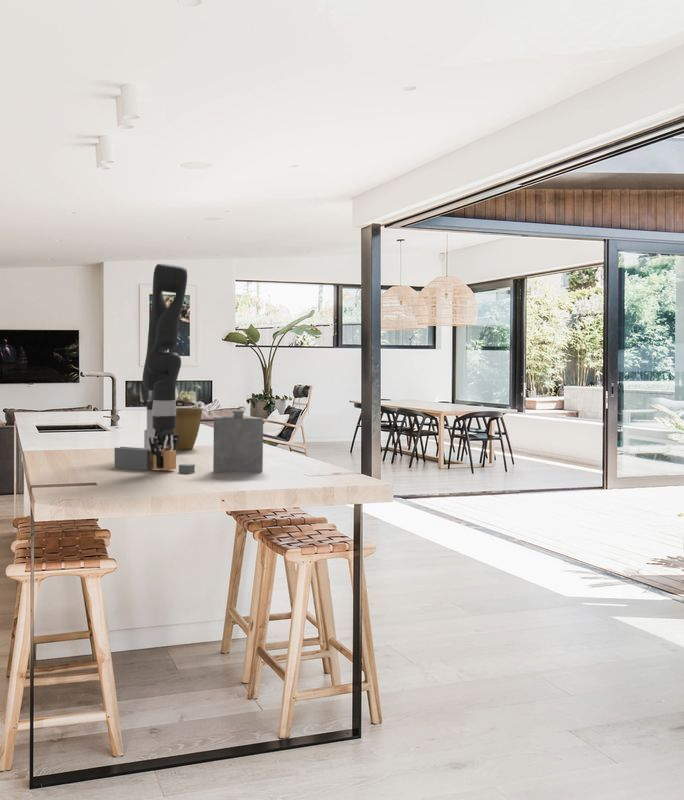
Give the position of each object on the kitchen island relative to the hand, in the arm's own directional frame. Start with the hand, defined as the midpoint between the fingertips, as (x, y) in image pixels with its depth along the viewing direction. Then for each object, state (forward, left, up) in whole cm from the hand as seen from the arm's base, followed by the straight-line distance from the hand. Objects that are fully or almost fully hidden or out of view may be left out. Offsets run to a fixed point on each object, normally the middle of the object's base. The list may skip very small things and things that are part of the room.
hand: (164, 466), depth 277 cm
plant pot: (-30, +54, -1) cm, 62 cm away
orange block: (0, 0, -1) cm, 1 cm away
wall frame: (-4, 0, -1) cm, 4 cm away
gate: (-10, 0, -1) cm, 10 cm away
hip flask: (+21, +10, -1) cm, 24 cm away
